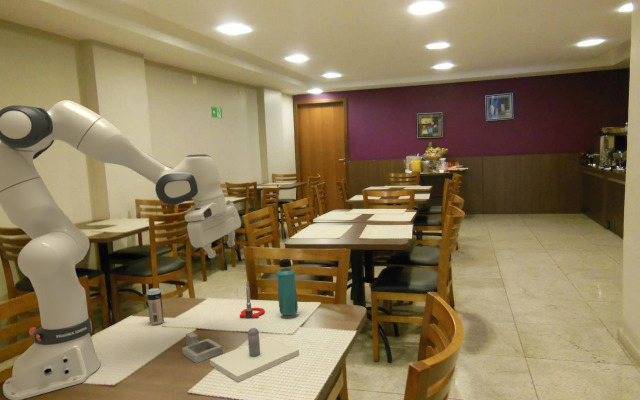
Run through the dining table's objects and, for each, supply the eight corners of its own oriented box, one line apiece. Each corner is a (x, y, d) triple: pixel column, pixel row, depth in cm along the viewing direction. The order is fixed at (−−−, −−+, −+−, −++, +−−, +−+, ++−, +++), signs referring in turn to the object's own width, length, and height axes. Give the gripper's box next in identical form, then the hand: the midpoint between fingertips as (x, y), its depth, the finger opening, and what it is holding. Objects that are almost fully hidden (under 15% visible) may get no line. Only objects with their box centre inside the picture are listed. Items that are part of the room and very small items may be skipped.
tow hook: (245, 310, 165) (237, 318, 156) (243, 276, 164) (235, 282, 155) (267, 310, 164) (260, 319, 155) (265, 275, 163) (258, 282, 154)
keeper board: (237, 382, 112) (235, 347, 111) (210, 364, 122) (207, 333, 121) (299, 354, 125) (297, 323, 124) (269, 341, 136) (267, 312, 135)
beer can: (167, 321, 157) (164, 288, 155) (155, 326, 153) (152, 292, 151) (158, 319, 159) (155, 287, 158) (146, 324, 155) (143, 290, 154)
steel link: (176, 350, 133) (175, 337, 132) (202, 341, 138) (201, 328, 138) (196, 363, 124) (194, 349, 123) (223, 352, 129) (221, 339, 129)
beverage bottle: (297, 318, 152) (294, 261, 150) (278, 319, 153) (274, 262, 150) (298, 312, 159) (295, 257, 157) (280, 313, 159) (276, 257, 157)
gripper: (224, 199, 143) (234, 240, 145) (179, 217, 125) (192, 264, 127) (240, 197, 140) (250, 239, 143) (197, 216, 122) (209, 263, 125)
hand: (222, 251), depth 135 cm, fingers open, 8 cm apart
